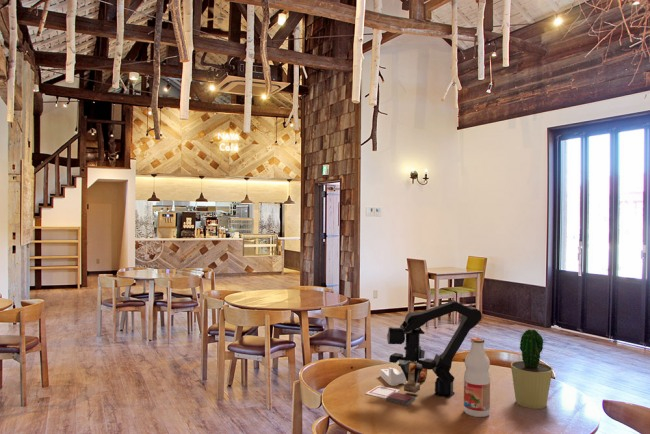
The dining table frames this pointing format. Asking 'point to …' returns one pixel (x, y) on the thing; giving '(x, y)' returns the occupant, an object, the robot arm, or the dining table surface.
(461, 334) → the robot arm
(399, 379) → the bracket
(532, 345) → the potted cactus
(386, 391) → the paper card
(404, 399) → the ink pad
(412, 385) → the stamp
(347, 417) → the dining table surface
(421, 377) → the croissant
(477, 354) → the fruit juice
